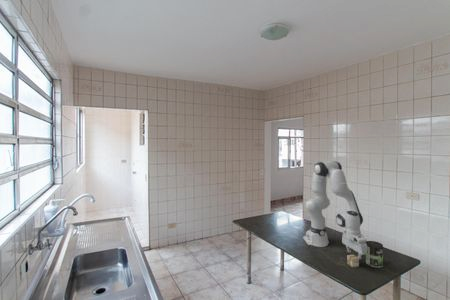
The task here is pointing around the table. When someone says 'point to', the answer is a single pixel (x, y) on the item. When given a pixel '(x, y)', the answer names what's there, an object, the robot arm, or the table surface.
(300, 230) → the table surface
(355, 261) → the beech block
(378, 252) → the coffee can
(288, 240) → the table surface
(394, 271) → the table surface
